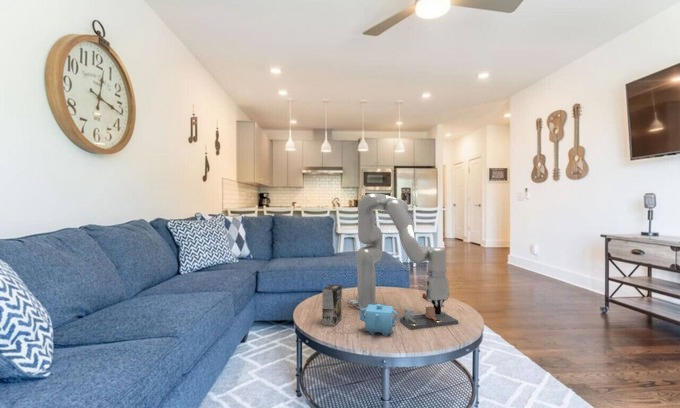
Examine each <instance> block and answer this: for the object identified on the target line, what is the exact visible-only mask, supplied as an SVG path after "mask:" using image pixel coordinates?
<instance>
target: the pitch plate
mask: <svg viewBox="0 0 680 408" xmlns="http://www.w3.org/2000/svg"><path fill="white" fill-rule="evenodd" d="M435 318H436V319H437V320H434V319H432V318H431V319H429V318H427V317H426V312H423V313H415V310H414V309H412V308H410V307H409V308H404V315H403V314H402V315H401V316H400V317H399V323H401V324H403V325H404V327H406V328H408V329H409V330H410V331H412V330H420V329H428V328H435V327H436V328H437V327H444V326H450V325H458V324H459V320H458V319H456V318H454V317H452V316H451V315H449V314H447V313H446V310H441V314H440V315H437V314H435Z"/></svg>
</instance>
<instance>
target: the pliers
mask: <svg viewBox="0 0 680 408" xmlns="http://www.w3.org/2000/svg"><path fill="white" fill-rule="evenodd" d="M422 297H423V299H424V300H427V297H426V292H425V293H422ZM441 307H445V306H444V304H443V303H442V306H441Z"/></svg>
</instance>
